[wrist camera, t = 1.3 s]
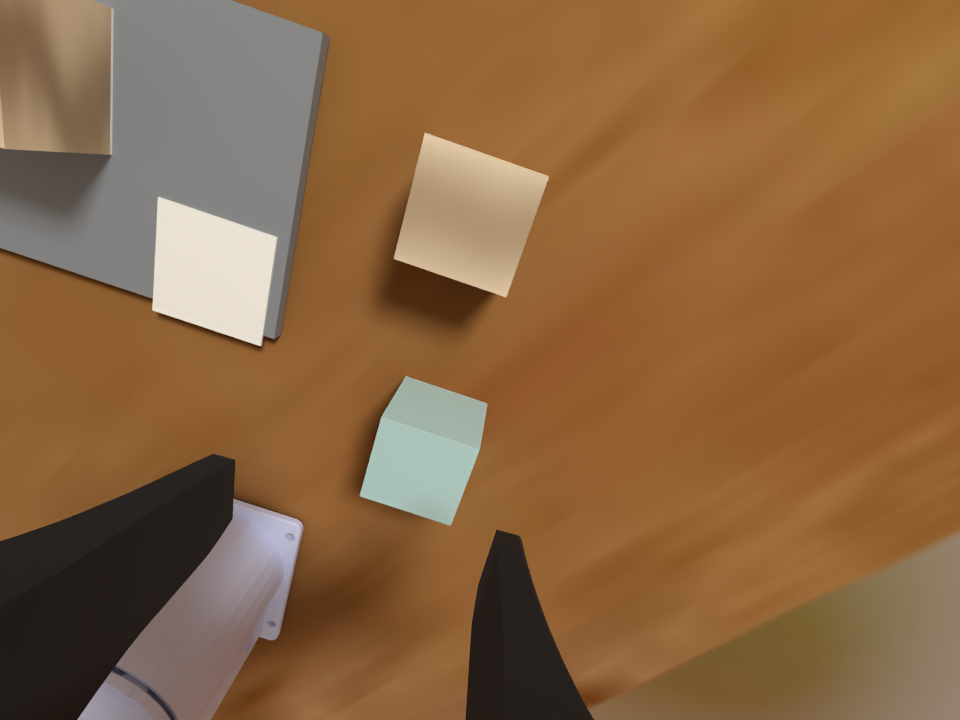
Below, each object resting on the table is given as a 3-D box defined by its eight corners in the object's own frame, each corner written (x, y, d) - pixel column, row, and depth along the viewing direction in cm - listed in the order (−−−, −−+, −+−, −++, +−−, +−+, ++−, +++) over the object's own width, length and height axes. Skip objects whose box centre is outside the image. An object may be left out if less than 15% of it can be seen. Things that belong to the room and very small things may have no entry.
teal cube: (462, 469, 23) (450, 525, 20) (386, 444, 23) (359, 496, 19) (487, 402, 22) (479, 449, 18) (406, 375, 22) (381, 416, 18)
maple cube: (510, 274, 19) (505, 297, 16) (419, 243, 19) (393, 259, 16) (544, 176, 18) (549, 176, 14) (446, 142, 18) (424, 132, 14)
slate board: (279, 344, 21) (271, 349, 21) (-18, 245, 21) (-36, 247, 20) (329, 37, 17) (321, 32, 16) (-52, -99, 16) (-76, -110, 16)
